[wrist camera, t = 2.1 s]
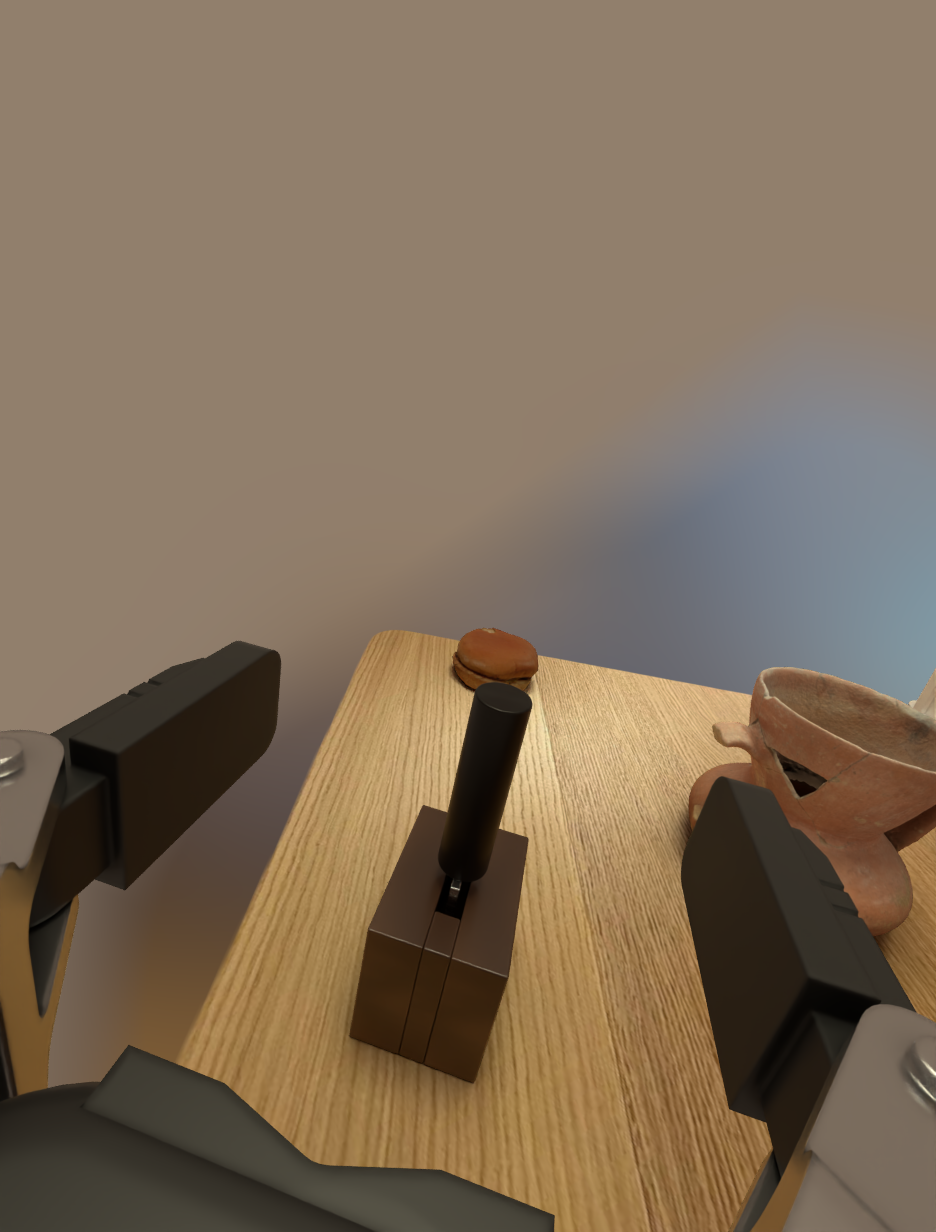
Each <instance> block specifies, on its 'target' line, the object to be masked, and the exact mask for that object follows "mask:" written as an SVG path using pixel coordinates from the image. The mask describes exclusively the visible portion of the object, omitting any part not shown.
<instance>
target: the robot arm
mask: <svg viewBox="0 0 936 1232" xmlns="http://www.w3.org/2000/svg"><path fill="white" fill-rule="evenodd" d="M280 671H281V659H280V655H279V653H278V652H276V651H275V650H271V649H267V648H264V647H260V646H256V645H253V644H249V643H246V642H242V641H235V642H233V643H231V644H230V645H228V646H226V647H224V648H222V649H221V650H219V651H217V652H216V653H214V654H212V655H211V656H209V657H207V658H201V659H197V660H194V661H190V662H186V663H183V664H179V665H176V666H172V667H170V668H169V669H167V670H165V671H164V672H161V673H160V674H158V675H156V676H154V677H152V678H151V679H149V681H148V683H145V682H143V683H142V684H140V685H138V686H136V687H134V688H133V689H131V690H129V692H128V694H122V695H120V696H119V697H117V698H115V699H113V700H111V701H109V702H107V703H106V704H104V705H102V706H100V707H99V708H97V709H95V710H93V711H91V712H89V713H88V714H86V715H84V716H82V717H80V718H79V719H77V720H75V721H73V722H71V723H70V724H68V725H66V726H64V727H62V728H61V729H59V730H57V731H55V732H53V733H52V734H50V735H49V734H46V733H42V732H37V731H28V730H11V731H1V732H0V1232H554V1218H555V1215H552V1214H550V1213H547V1212H545V1211H542V1210H540V1209H537V1208H535V1207H532V1206H530V1205H527V1204H525V1203H522V1202H520V1201H517V1200H515V1199H512V1198H510V1197H507V1196H505V1195H502V1194H500V1193H497V1192H495V1191H492V1190H490V1189H487V1188H485V1187H482V1186H480V1185H477V1184H475V1183H472V1182H470V1181H467V1180H465V1179H462V1178H460V1177H457V1176H455V1175H452V1174H450V1173H447V1172H445V1171H442V1170H432V1169H406V1168H380V1167H355V1166H329V1165H322V1164H318V1163H316V1162H313V1161H311V1160H310V1159H308V1158H307V1157H306V1156H304V1155H303V1154H302V1153H301V1152H300V1151H299V1150H298V1149H297V1148H295V1147H294V1146H293V1145H292V1144H291V1143H290V1142H289V1141H288V1140H287V1139H286V1138H284V1137H283V1136H282V1135H281V1134H280V1133H279V1132H278V1131H277V1130H276V1129H274V1128H273V1127H272V1126H271V1125H270V1124H269V1123H268V1122H267V1121H266V1120H265V1119H263V1118H262V1117H261V1116H260V1115H259V1114H258V1113H257V1112H256V1111H255V1110H253V1109H252V1108H251V1107H250V1106H249V1105H248V1104H247V1103H246V1102H245V1101H244V1100H242V1099H241V1098H240V1097H239V1096H238V1095H237V1094H236V1093H235V1092H234V1091H233V1090H231V1089H230V1088H229V1087H228V1086H227V1085H226V1084H225V1083H223V1082H220V1081H218V1080H215V1079H213V1078H210V1077H208V1076H205V1075H203V1074H200V1073H198V1072H195V1071H193V1070H190V1069H188V1068H185V1067H183V1066H180V1065H178V1064H175V1063H173V1062H170V1061H168V1060H165V1059H162V1058H160V1057H158V1056H155V1055H152V1054H150V1053H148V1052H145V1051H142V1050H140V1049H138V1048H135V1047H133V1046H130V1045H128V1047H127V1048H126V1049H125V1050H124V1052H123V1053H122V1054H121V1056H120V1057H119V1058H118V1060H117V1061H116V1062H115V1064H114V1065H113V1066H112V1068H111V1069H110V1071H109V1072H108V1073H107V1074H106V1076H105V1077H104V1078H103V1080H102V1081H101V1082H86V1083H76V1084H66V1085H60V1086H55V1087H51V1088H48V1063H49V1062H48V1061H49V1051H50V1043H51V1037H52V1031H53V1026H54V1022H55V1017H56V1012H57V1007H58V1003H59V998H60V994H61V988H62V984H63V980H64V975H65V970H66V966H67V960H68V956H69V951H70V947H71V942H72V937H73V933H74V928H75V924H76V919H77V914H78V908H79V900H78V894H79V893H80V892H81V891H82V890H83V889H84V888H85V887H86V886H88V885H89V884H90V883H91V882H92V881H93V880H94V879H95V880H98V881H101V882H104V883H106V884H109V885H112V886H115V887H118V888H120V889H123V890H126V889H127V888H128V887H129V886H130V885H131V884H132V883H133V882H134V881H135V880H136V879H137V878H138V877H139V876H140V875H141V874H142V873H143V872H144V871H145V870H146V869H147V868H148V867H149V866H150V865H151V864H152V863H153V862H154V861H155V860H156V859H158V857H160V856H161V855H162V854H163V853H164V852H165V851H166V850H167V849H168V848H169V847H170V846H171V845H172V844H173V843H174V842H175V841H176V840H177V839H178V838H179V837H180V836H181V835H182V834H183V833H184V832H185V831H186V830H187V829H188V828H189V827H190V826H191V825H192V824H193V823H194V822H195V821H196V820H197V819H198V818H199V817H200V816H201V815H202V814H203V813H204V812H205V811H206V810H207V809H208V808H209V807H210V806H211V805H212V804H213V803H214V802H215V801H216V800H217V799H219V798H220V797H221V796H222V794H224V793H225V792H226V791H227V790H228V789H229V788H230V787H231V786H232V785H233V784H234V783H235V782H236V781H237V780H238V779H239V778H240V777H241V776H242V775H243V774H244V773H245V772H246V771H247V770H248V769H249V768H250V767H251V766H252V765H253V764H254V763H255V762H256V761H257V760H258V759H259V758H260V757H261V756H262V755H263V754H264V753H265V751H266V750H267V748H268V747H269V745H270V743H271V741H272V738H273V736H274V733H275V730H276V725H277V715H278V699H279V686H280ZM681 882H682V889H683V893H684V898H685V903H686V908H687V912H688V917H689V922H690V926H691V931H692V936H693V941H694V945H695V950H696V955H697V960H698V964H699V969H700V974H701V978H702V983H703V988H704V993H705V997H706V1002H707V1007H708V1011H709V1016H710V1021H711V1026H712V1030H713V1035H714V1040H715V1045H716V1049H717V1054H718V1059H719V1063H720V1068H721V1073H722V1078H723V1082H724V1087H725V1092H726V1097H727V1101H728V1106H729V1109H730V1110H733V1111H735V1112H738V1113H741V1114H744V1115H747V1116H749V1117H752V1118H755V1119H758V1120H761V1121H763V1122H766V1123H767V1127H768V1130H769V1134H770V1138H771V1142H772V1146H773V1147H772V1149H771V1150H770V1152H769V1153H768V1155H767V1156H766V1157H765V1159H764V1160H763V1162H762V1164H761V1166H760V1168H759V1170H758V1172H757V1174H756V1176H755V1178H754V1180H753V1182H752V1184H751V1186H750V1188H749V1190H748V1192H747V1194H746V1196H745V1198H744V1200H743V1203H742V1205H741V1207H740V1209H739V1211H738V1213H737V1215H736V1217H735V1219H734V1221H733V1223H732V1225H731V1227H730V1229H729V1231H728V1232H936V1023H935V1022H933V1021H931V1020H930V1019H928V1018H926V1017H924V1016H922V1015H920V1014H918V1013H916V1011H915V1009H914V1007H913V1006H912V1004H911V1002H910V1000H909V999H908V997H907V995H906V993H905V992H904V990H903V988H902V986H901V985H900V983H899V981H898V979H897V978H896V976H895V974H894V972H893V971H892V969H891V967H890V965H889V964H888V962H887V960H886V958H885V957H884V955H883V953H882V951H881V950H880V948H879V946H878V944H877V943H876V941H875V939H874V937H873V936H872V934H871V932H870V930H869V929H868V927H867V925H866V923H865V922H864V920H863V918H859V917H858V913H859V911H858V909H857V908H856V906H855V904H854V902H853V901H852V899H851V897H850V895H849V894H848V893H847V892H844V885H843V883H842V881H841V880H840V878H839V876H838V874H837V873H836V871H835V869H834V867H833V866H832V864H831V862H830V861H829V859H828V857H827V856H826V855H825V854H824V853H823V852H822V851H821V850H820V849H819V848H818V847H817V846H816V845H815V844H814V843H813V842H812V841H811V840H810V839H809V838H808V837H807V836H806V835H805V834H804V833H803V832H802V831H801V830H800V829H796V828H793V827H791V826H790V824H789V822H788V820H787V818H786V816H785V814H784V812H783V811H782V809H781V807H780V805H779V803H778V801H777V799H776V797H775V795H774V794H773V792H772V791H771V790H769V789H767V788H764V787H760V786H756V785H753V784H749V783H746V782H742V781H738V780H735V779H731V778H728V777H724V776H721V777H719V778H717V779H716V780H715V782H714V783H713V785H712V787H711V789H710V791H709V794H708V796H707V798H706V801H705V803H704V805H703V808H702V810H701V812H700V815H699V817H698V819H697V822H696V824H695V826H694V828H693V831H692V833H691V835H690V838H689V840H688V842H687V845H686V848H685V851H684V855H683V860H682V867H681Z"/></svg>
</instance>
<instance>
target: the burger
mask: <svg viewBox="0 0 936 1232" xmlns="http://www.w3.org/2000/svg"><path fill="white" fill-rule="evenodd" d="M452 657H453V664H454V667H455V669H456V671H457V675H458V676H459V677H460V679H461V680H462V681H464V683H465V684H466V685H468V686H470V687H471V688H474V689H476V688H477V687H478V686H480V685H481V684H484V683H488V682H499V683H505V684H509V685H512V686H515V687H517V688H519V689H521V690H522V691H524V690H525V689H526V687H527V686H528V685H529V683H530V681H531V678H532V676H533V675H534V674H535V673H536V672H537V671H538V656H537V652H536V650H535V648H534V647H533V646H532V645H531V644H530V643H529V642H528V641H526V640H525V639H522V638H520V637H518V636H515V635H511V634H508V633H506V632H503V631H501V630H498V629H495V628H492V629H486V628H482V629H476V630H473V631H471V632H469V633H467V634H466V635H464V636H463V637H462V639H461V640H460V642H459V644H458V649H457V652H455V653H454V654H453V656H452Z"/></svg>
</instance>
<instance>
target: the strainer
mask: <svg viewBox="0 0 936 1232" xmlns="http://www.w3.org/2000/svg"><path fill="white" fill-rule="evenodd" d="M908 706H910V707H911V708H913V709H915V710H917V711H919V712H920V713H923V714H924V715H927V716H929V717H932V718H934V719H935V720H936V669H935V671H934V672H933V674H932V676H931V677H930V679H929V681H928V683H927V684H926V686H925V688H924V690H923V692H922V693H921V695H920V697H919V698H918V700H917V701H910V702H909V704H908Z"/></svg>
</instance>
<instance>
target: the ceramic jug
mask: <svg viewBox="0 0 936 1232" xmlns="http://www.w3.org/2000/svg"><path fill="white" fill-rule="evenodd" d="M712 729H713V733H714V737H715V739H716V740H717V742H719V743H720V744H722V745H723V746H725V747H739V748H742V749H744V750H746V751H747V752H748V753H749V754H750V755H751V761H752V763H730V764H724V765H720V766H717V767H714V768H712V769H710V770H708V771H707V772H705V773H704V774H703V775H701V776H700V777H699V778H698V779H697V780H696V782H695V783H694V785H693V787H692V789H691V792H690V796H689V818H690V824H691V829H692V831H693V828H694V826H695V824H696V822H697V819H698V817H699V815H700V812H701V810H702V808H703V805H704V803H705V801H706V798H707V796H708V794H709V791H710V789H711V787H712V785H713V783H714V782H715V780H716V779H717V778H719V777H721V776H724V777H728V778H731V779H735V780H738V781H742V782H746V783H749V784H753V785H756V786H760V787H764V788H767V789H769V790H771V791H772V792H773V794H774V795H775V797H776V799H777V801H778V803H779V805H780V807H781V809H782V811H783V812H784V814H785V816H786V818H787V820H788V822H789V824H790V826H791V827H793V828H796V829H800V830H801V831H802V832H803V833H804V834H805V835H806V836H807V837H808V838H809V839H810V840H811V841H812V842H813V843H814V844H815V845H816V846H817V847H818V848H819V849H820V850H821V851H822V852H823V853H824V854H825V855H826V856H827V857H828V859H829V861H830V862H831V864H832V866H833V867H834V869H835V871H836V873H837V874H838V876H839V878H840V880H841V881H842V883H843V885H844V892H847V893H848V894H849V895H850V897H851V899H852V901H853V902H854V904H855V906H856V908H857V909H858V911H859V913H858V917H859V918H863V920H864V922H865V923H866V925H867V927H868V929H869V930H870V932H871V934H872V936H878V935H882V934H884V933H887V932H889V931H891V930H893V929H895V928H896V927H898V926H899V925H900V924H901V923H902V922H903V921H904V920H905V919H906V918H907V916H908V915H909V912H910V910H911V906H912V899H913V893H912V885H911V880H910V876H909V874H908V871H907V869H906V866H905V864H904V862H903V860H902V859H901V857H900V855H899V854H898V851H900V850H901V849H903V848H904V847H907V846H909V845H910V844H912V843H914V842H916V841H918V840H919V839H920V838H922V837H923V836H924V835H926V834H927V833H928V832H930V831H931V830H932V829H934V828H935V827H936V720H935V719H934V718H932V717H929V716H927V715H924V714H923V713H920V712H919V711H917V710H915V709H913V708H911V707H910V706H908V705H907V704H905V703H903V702H902V701H899V700H897V699H895V698H892V697H889V696H888V695H884V694H881V693H878V692H877V691H875V690H873V689H870V688H867V687H865V686H862V685H858V684H856V683H854V682H850V681H846V680H843V679H841V678H838V677H835V676H832V675H828V674H823V673H819V672H816V671H812V670H806V669H798V668H792V667H783V668H780V667H774V668H770V669H766V670H764V671H762V672H761V673H760V675H759V676H758V678H757V681H756V684H755V686H754V690H753V694H752V700H751V708H750V719H749V726H746V725H744V724H741V723H738V722H719V723H716V724H713V726H712Z"/></svg>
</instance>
